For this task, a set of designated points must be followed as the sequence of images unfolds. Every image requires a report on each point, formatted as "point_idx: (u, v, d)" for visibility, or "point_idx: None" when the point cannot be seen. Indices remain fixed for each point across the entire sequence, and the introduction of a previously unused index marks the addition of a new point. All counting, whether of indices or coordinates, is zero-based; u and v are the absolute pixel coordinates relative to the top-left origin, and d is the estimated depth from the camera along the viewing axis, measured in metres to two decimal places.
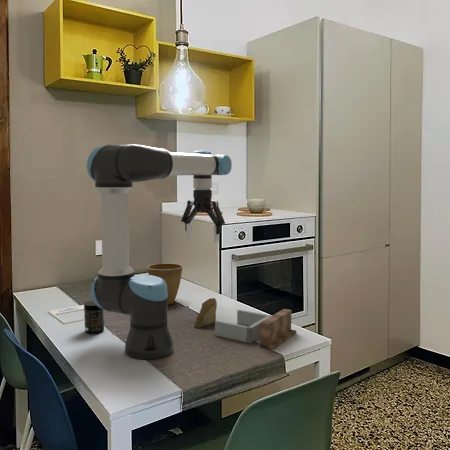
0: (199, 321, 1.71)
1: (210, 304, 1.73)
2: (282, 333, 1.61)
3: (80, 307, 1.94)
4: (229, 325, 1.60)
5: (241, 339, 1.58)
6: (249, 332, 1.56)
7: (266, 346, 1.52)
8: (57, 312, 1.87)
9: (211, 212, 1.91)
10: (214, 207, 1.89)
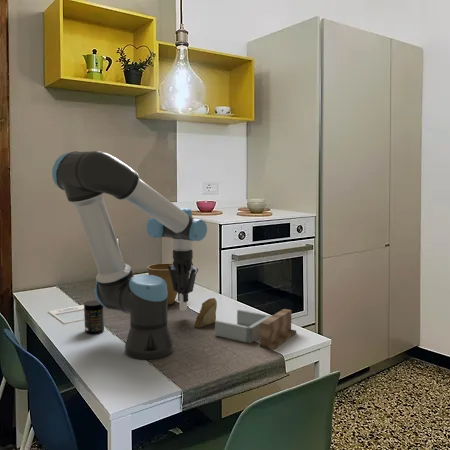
0: (199, 321, 1.71)
1: (210, 304, 1.74)
2: (282, 333, 1.61)
3: (80, 307, 1.94)
4: (229, 325, 1.60)
5: (241, 339, 1.58)
6: (249, 332, 1.56)
7: (266, 346, 1.52)
8: (57, 312, 1.87)
9: (186, 277, 1.78)
10: (191, 274, 1.76)
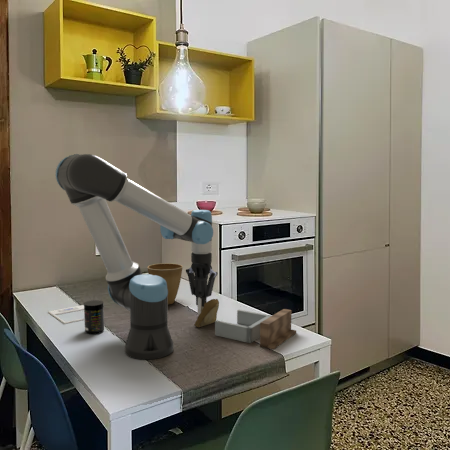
0: (200, 321, 1.71)
1: (212, 304, 1.73)
2: (282, 333, 1.61)
3: (80, 307, 1.94)
4: (229, 325, 1.60)
5: (241, 339, 1.58)
6: (249, 332, 1.56)
7: (266, 346, 1.52)
8: (57, 312, 1.87)
9: (205, 281, 1.74)
10: (210, 278, 1.71)
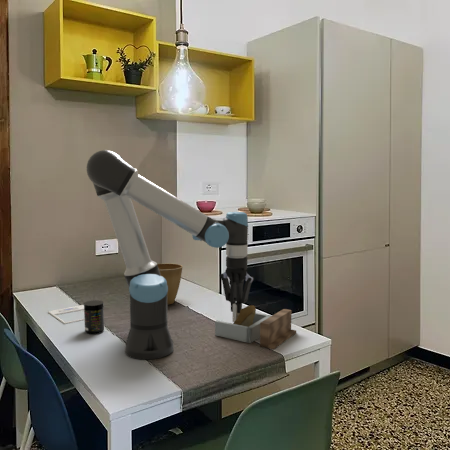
0: None
1: (248, 311, 1.65)
2: (282, 333, 1.61)
3: (80, 307, 1.94)
4: (229, 325, 1.60)
5: (241, 339, 1.58)
6: (249, 332, 1.56)
7: (266, 346, 1.52)
8: (57, 312, 1.87)
9: (240, 286, 1.66)
10: (247, 283, 1.63)
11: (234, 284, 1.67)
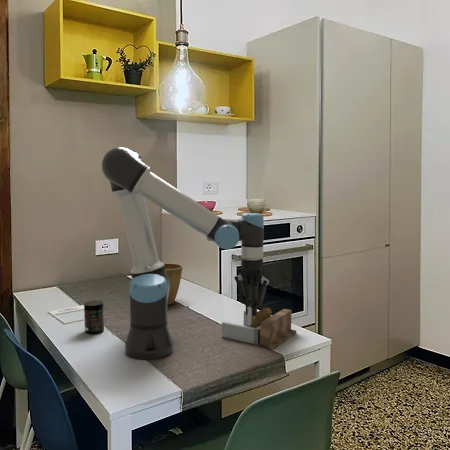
0: None
1: (264, 314, 1.62)
2: (282, 333, 1.61)
3: (80, 307, 1.94)
4: (236, 326, 1.59)
5: (248, 341, 1.57)
6: (256, 333, 1.55)
7: (266, 346, 1.52)
8: (57, 312, 1.87)
9: (256, 289, 1.63)
10: (262, 286, 1.60)
11: (249, 287, 1.64)
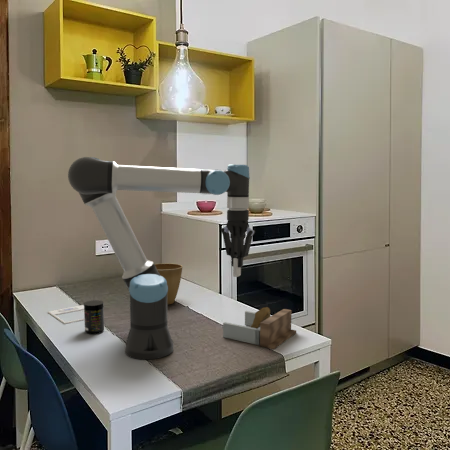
0: None
1: (263, 313, 1.62)
2: (282, 333, 1.61)
3: (80, 307, 1.94)
4: (237, 327, 1.59)
5: (250, 341, 1.56)
6: (257, 334, 1.55)
7: (266, 346, 1.52)
8: (57, 312, 1.87)
9: (241, 240, 1.64)
10: (248, 236, 1.61)
11: (235, 238, 1.65)
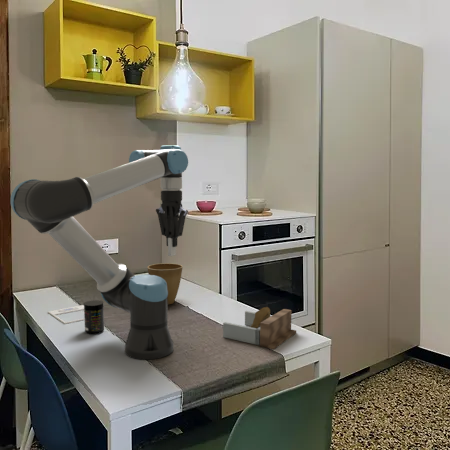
0: None
1: (263, 313, 1.62)
2: (282, 333, 1.61)
3: (80, 307, 1.94)
4: (237, 327, 1.59)
5: (250, 341, 1.56)
6: (257, 334, 1.55)
7: (266, 346, 1.52)
8: (57, 312, 1.87)
9: (175, 220, 1.67)
10: (180, 216, 1.64)
11: (169, 218, 1.68)
